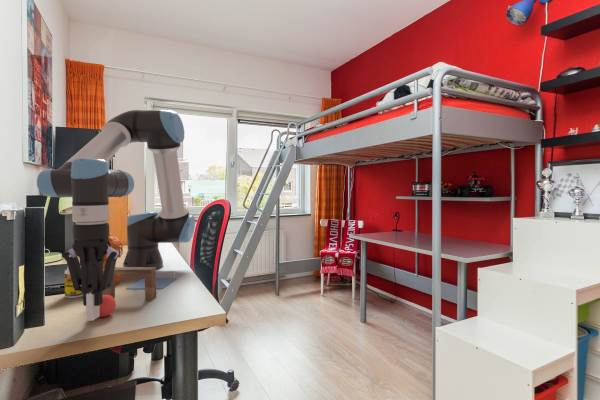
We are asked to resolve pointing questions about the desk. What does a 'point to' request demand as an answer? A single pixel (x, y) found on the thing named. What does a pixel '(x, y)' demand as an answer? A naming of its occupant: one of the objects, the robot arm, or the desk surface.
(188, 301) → the desk surface
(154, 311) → the desk surface
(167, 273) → the stopper wall
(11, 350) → the desk surface
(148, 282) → the bridge
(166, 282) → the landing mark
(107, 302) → the ball
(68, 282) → the supplement bottle
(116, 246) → the toy dinosaur
